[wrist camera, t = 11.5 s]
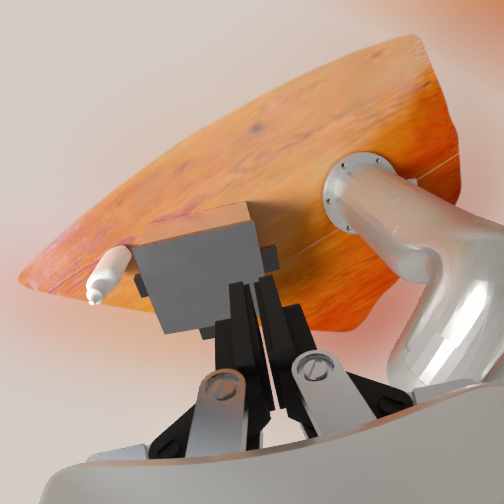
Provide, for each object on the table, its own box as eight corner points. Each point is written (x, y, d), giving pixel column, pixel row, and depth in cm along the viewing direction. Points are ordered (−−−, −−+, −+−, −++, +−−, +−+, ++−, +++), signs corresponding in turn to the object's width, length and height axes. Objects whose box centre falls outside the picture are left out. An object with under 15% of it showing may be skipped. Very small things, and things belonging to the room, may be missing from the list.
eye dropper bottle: (135, 269, 46) (116, 317, 36) (103, 270, 46) (77, 317, 35) (130, 243, 44) (107, 287, 34) (97, 245, 44) (67, 288, 33)
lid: (253, 219, 36) (254, 221, 35) (273, 321, 42) (274, 325, 41) (133, 246, 36) (131, 249, 35) (170, 340, 42) (169, 345, 41)
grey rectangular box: (262, 197, 43) (271, 217, 36) (275, 271, 49) (285, 301, 42) (134, 227, 43) (119, 251, 36) (159, 295, 49) (152, 327, 42)
